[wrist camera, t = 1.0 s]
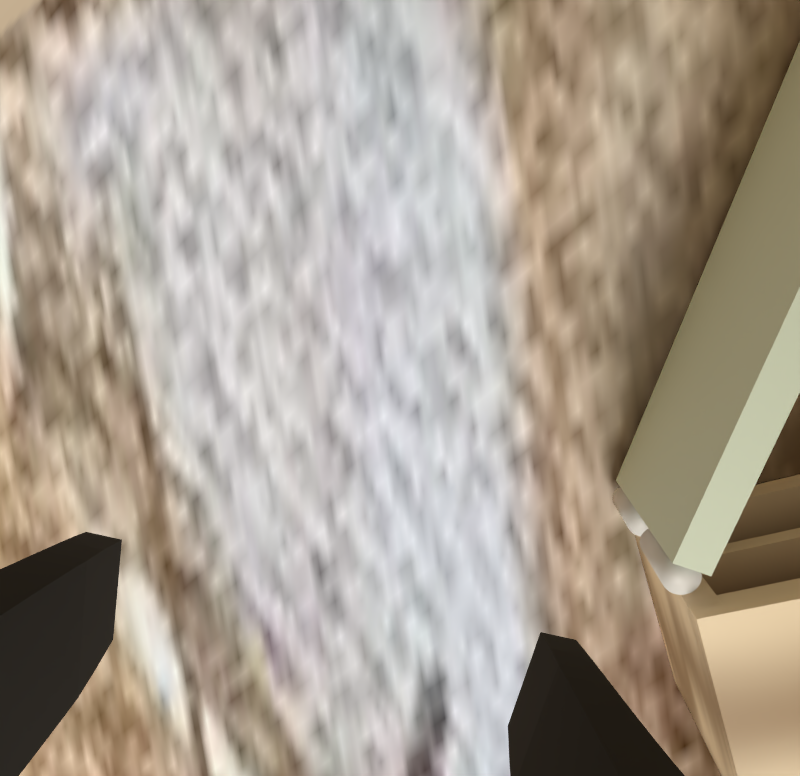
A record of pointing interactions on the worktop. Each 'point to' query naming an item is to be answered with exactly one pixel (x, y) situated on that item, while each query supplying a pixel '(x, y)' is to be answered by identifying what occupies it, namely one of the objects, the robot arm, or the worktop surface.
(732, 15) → the worktop surface
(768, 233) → the cabinet door
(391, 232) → the worktop surface
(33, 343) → the worktop surface
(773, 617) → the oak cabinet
